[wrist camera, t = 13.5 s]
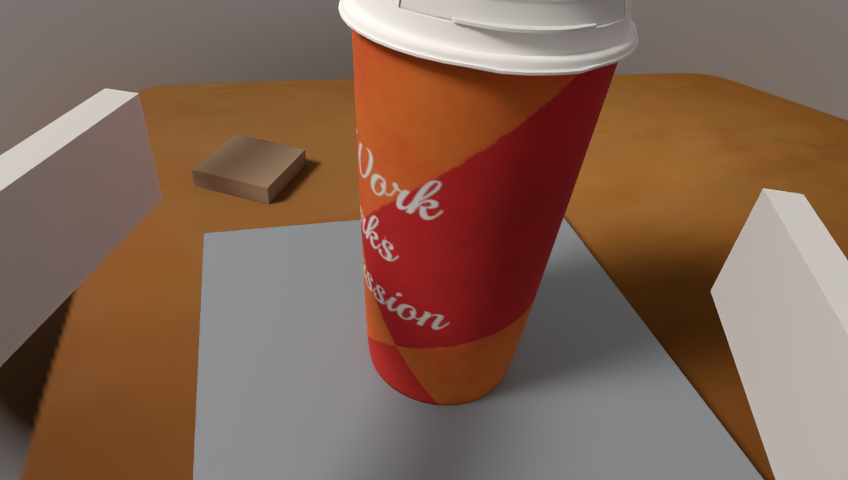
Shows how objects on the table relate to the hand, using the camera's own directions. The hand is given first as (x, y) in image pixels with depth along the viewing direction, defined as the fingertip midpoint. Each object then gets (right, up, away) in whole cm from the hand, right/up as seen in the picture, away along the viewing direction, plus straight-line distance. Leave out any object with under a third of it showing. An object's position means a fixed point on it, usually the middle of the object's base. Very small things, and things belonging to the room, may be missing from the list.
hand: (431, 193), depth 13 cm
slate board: (0, -6, +11) cm, 12 cm away
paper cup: (0, -5, +10) cm, 12 cm away
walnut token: (-10, +2, +21) cm, 24 cm away
